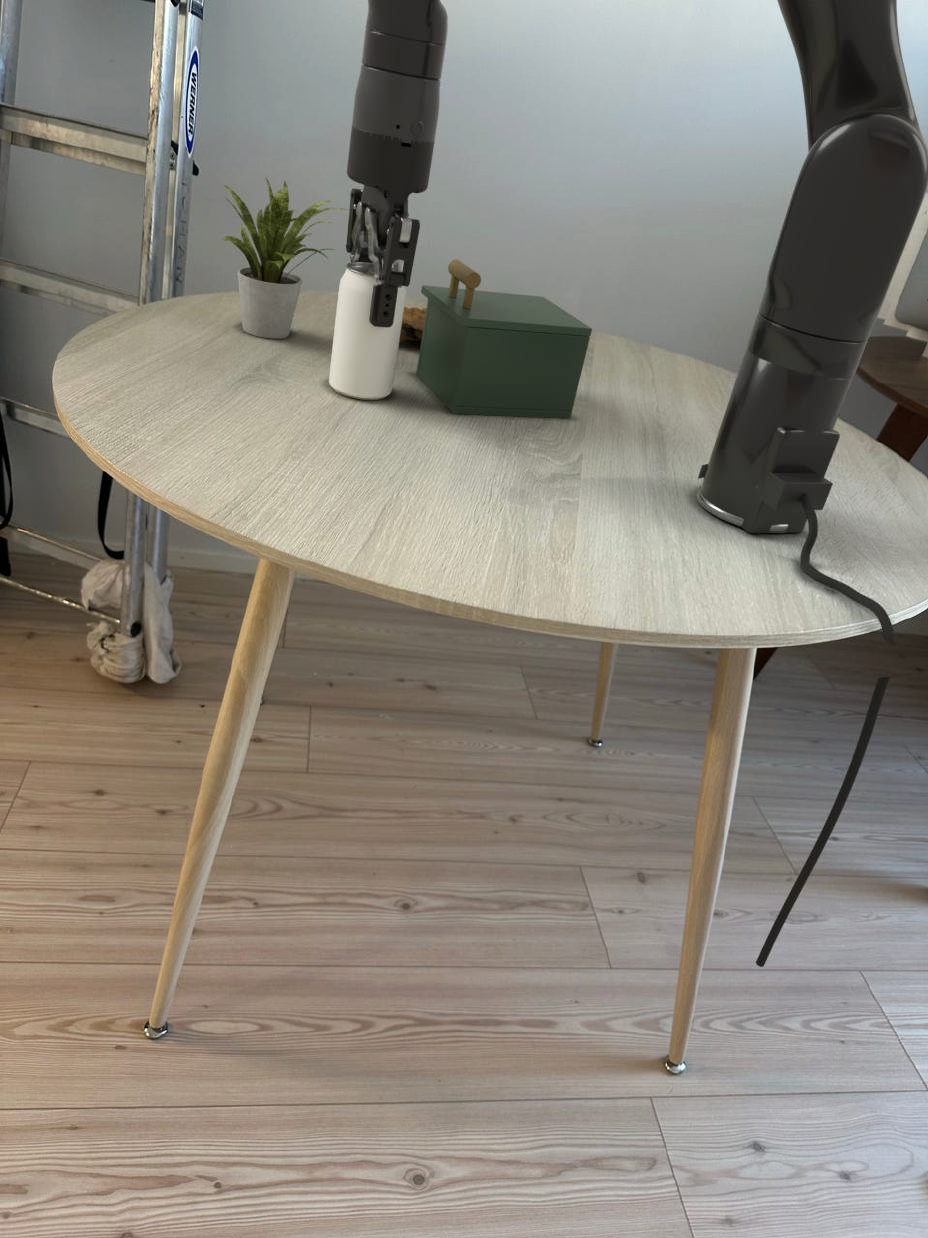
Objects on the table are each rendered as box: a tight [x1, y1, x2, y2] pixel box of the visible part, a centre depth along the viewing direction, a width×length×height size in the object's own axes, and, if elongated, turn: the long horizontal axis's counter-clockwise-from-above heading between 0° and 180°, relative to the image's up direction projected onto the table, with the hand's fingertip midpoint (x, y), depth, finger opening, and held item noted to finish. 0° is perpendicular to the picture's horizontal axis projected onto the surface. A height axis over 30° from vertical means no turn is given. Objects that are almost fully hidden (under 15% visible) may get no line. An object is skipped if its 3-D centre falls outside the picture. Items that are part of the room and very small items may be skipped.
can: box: [328, 261, 407, 401], centre depth 98 cm, size 6×6×12 cm
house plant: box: [219, 176, 348, 339], centre depth 108 cm, size 14×14×16 cm
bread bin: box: [415, 298, 591, 419], centre depth 105 cm, size 14×12×9 cm
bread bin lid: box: [420, 259, 593, 337], centre depth 101 cm, size 14×12×4 cm
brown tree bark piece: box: [399, 306, 427, 342], centre depth 120 cm, size 11×4×15 cm
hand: (369, 314), depth 97 cm, fingers closed on can, 6 cm apart
